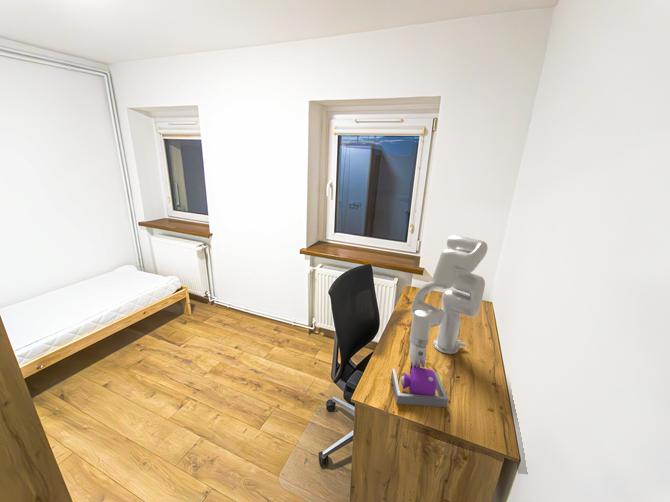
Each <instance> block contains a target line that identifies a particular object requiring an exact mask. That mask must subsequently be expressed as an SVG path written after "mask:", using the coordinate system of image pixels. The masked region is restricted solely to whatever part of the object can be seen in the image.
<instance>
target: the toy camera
mask: <svg viewBox="0 0 670 502" xmlns="http://www.w3.org/2000/svg"><path fill="white" fill-rule="evenodd" d="M434 372H435V371H434V370H432V369H430V368H429V369H428V368H425V367H420V368H417V367H412V369H411V371H410V370H409V375H408V374H407V372H403V373H402V374H403V375H402V376H401V378H400V382H401V385H402V389H403V390H404V389H407V388H408V387H409V388H408V389H409V394H415V395H429V396H436V391H437V389H436V380H435V375H434Z"/></svg>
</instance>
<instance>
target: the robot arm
mask: <svg viewBox="0 0 670 502" xmlns="http://www.w3.org/2000/svg"><path fill="white" fill-rule="evenodd" d="M446 247H447V249H444V250H442V251H441V254H440V256H439V259H438V261H437V264H436V268H435V270H434V273H433V276H432V278H431V280H430V281H429V282H427V283H424V285H422V286H421V287H420V288H419V289H418V290H417V292H416V293H415V295H414V298H413V300H412V304H411V307H410V313H411V315H412V319H411V327H410V333H409V342H410V344H409V351H408V353H409V358H410V368H409V372H410V371H411V369H412V367H417V368H425V366H426V359H427V346H428V344H429V339H430V331H431V328H434V327H437V326H438V331H437V336H436V338H435V339H434V340H433V341H432V342H433V343H432V345H433V348H435V349H436V350H437V351H439V352H440V353H442V354H443V353H444V354H448V355H453V354H456V353H458V352H459V349H460V348H459V347H466V346H467V343H466V342H463V341H462V340H461V339H458V337H459V331H460V327H461V326H460V325H461V322H462V318H461V315H464V316H467V317H469V318H474V317H477V316H478V314H479V312H480V308H481V304H482V301H483V297H484V293H485V289H486V288H485V287H486V281H485V279H484V278H483V276H480V275H479V274H475V273H473V272H474V271H475V270H476V268H477V267H478V266H479V264H480V263H481V262H482V261H483V260H484V258H485V257H486V255H487V252H488V249H489V248H488V244H487V243H486V241H484V240H480V239H476V238H470V237H467V236H461V235H450V236H448V237H447V240H446ZM451 288H452V289H451ZM444 289H445V291H444V292H443V293H442V294H441V295H442V296H441V308H439V307H436V306H433V305H431V304H429V303H426V302H424V298H425V297H426V295H427V294H429V293H430V292H433V291H435V290H444ZM446 289H447V290H446ZM453 289H454V290H453ZM462 292H463V293H462Z"/></svg>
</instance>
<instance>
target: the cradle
mask: <svg viewBox="0 0 670 502" xmlns="http://www.w3.org/2000/svg"><path fill="white" fill-rule="evenodd" d="M433 372H434V375H435V380H436V392H437V394H438V395H435V396H429V395H415V394H410V393H403V392H401V391H400V390H401V389H400V386H399V381H398V377H397V372H396V369H395V368H392V369H391V382H392V386H393V393H394V397H395V402H396V404H397V405H411V406H422V407H423V406H424V407H436V408H437V407H438V408H447V407H448V406H447V405H448V400H449V398H448V395H447V393H446V391H445V389H444V386H443V384H442V381H441V379H440V377H439V375H438V372H437V371H433Z"/></svg>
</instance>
